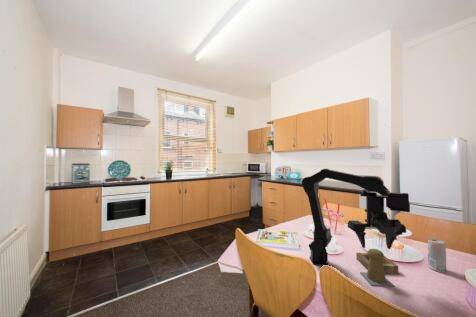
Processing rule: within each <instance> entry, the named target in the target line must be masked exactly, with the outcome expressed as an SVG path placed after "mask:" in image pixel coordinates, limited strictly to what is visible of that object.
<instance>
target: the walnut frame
mask: <svg viewBox="0 0 476 317" xmlns="http://www.w3.org/2000/svg"><path fill="white" fill-rule="evenodd" d="M355 256H356V260H357V261H358V262H359V263H360V264H361V265H362V266H363V267H364V268H365V270H367V271H368V265H369V256H368V252H356V254H355ZM382 262H383V267H384V273H385V274H399V266H398V265H397V264H396V263H394V262H393V260H391V259H389V258H388V257H387V256H385V255H384V259H383V260H382Z"/></svg>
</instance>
